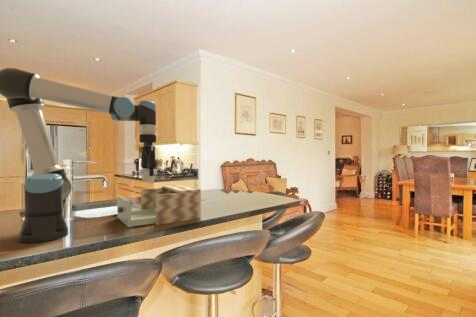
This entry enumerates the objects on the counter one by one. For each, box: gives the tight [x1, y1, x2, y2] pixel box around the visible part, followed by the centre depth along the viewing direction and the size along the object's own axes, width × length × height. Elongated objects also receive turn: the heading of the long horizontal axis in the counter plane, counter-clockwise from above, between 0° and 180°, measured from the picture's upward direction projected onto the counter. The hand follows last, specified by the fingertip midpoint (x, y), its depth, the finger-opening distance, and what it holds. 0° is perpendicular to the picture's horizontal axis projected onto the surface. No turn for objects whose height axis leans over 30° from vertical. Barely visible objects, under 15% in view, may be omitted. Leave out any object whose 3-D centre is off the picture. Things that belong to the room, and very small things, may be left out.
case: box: [140, 184, 202, 226], centre depth 135 cm, size 21×25×14 cm
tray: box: [116, 194, 156, 228], centre depth 128 cm, size 23×23×11 cm
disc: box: [138, 168, 158, 176], centre depth 129 cm, size 8×8×2 cm
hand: (148, 182), depth 129 cm, fingers closed on disc, 8 cm apart
